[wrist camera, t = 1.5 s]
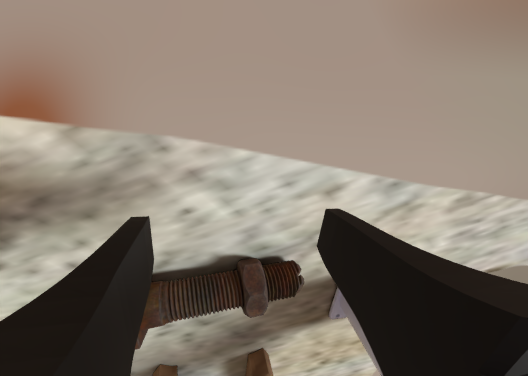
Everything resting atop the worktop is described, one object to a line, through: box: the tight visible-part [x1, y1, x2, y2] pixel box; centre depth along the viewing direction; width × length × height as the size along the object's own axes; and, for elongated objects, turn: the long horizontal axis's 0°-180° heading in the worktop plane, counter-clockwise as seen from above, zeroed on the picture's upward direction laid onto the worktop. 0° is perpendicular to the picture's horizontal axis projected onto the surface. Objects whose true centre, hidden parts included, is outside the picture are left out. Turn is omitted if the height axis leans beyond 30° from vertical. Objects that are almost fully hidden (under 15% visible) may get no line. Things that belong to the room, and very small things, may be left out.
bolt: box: [135, 258, 304, 349], centre depth 22 cm, size 6×5×15 cm
